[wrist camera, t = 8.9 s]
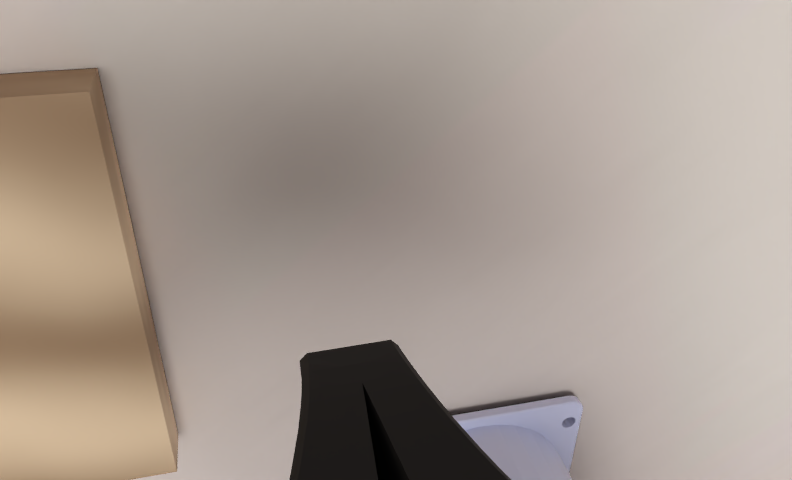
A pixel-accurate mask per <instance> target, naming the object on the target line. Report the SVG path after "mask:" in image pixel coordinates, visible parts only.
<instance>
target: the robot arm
mask: <svg viewBox="0 0 792 480" xmlns="http://www.w3.org/2000/svg"><path fill="white" fill-rule="evenodd" d="M300 367H301V377H302V398H301V410H300V420H299V429H298V435H297V441H296V447H295V453H294V458H293V464H292V470H291V475H290V480H572V478H571V476H570V474H569V472H570V467H571V462H572V458H573V453H574V448H575V444H576V439H577V434H578V430H579V425H580V420H581V416H582V411H583V406H582V404H581V402H580V401H579V399H578V398H577V397H575V396H564V397H558V398H552V399H546V400H540V401H534V402H528V403H523V404H517V405H511V406H505V407H499V408H493V409H487V410H481V411H476V412H470V413H464V414H458V415H451V414H450V413H449V412H448V411H447V409H446V408H445V407H444V406H443V405H442V403H441V402H440V401H439V400H438V398H437V397H436V396H435V395H434V394H433V392H432V391H431V390H430V389H429V387H428V386H427V385H426V383H425V382H424V381H423V380H422V378H421V377H420V376H419V374H418V373H417V372H416V370H415V369H414V368H413V366H412V365H411V364H410V362H409V361H408V359H407V358H406V356H405V355H404V354H403V352H402V351H401V349H400V348H399V346H398V345H397V344H396V343H394V342H393V341H391V340H387V341H381V342H374V343H368V344H362V345H356V346H350V347H343V348H337V349H331V350H325V351H318V352H312V353H307V354H306V355H305V356H304V357H303V358H302V359H301V360H300Z"/></svg>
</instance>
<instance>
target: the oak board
mask: <svg viewBox="0 0 792 480" xmlns="http://www.w3.org/2000/svg"><path fill="white" fill-rule="evenodd" d="M177 454H178V432H177V427H176V423H175V418H174V413H173V409H172V404H171V400H170V395H169V391H168V386H167V382H166V377H165V373H164V368H163V364H162V359H161V354H160V350H159V345H158V341H157V336H156V332H155V327H154V323H153V318H152V314H151V309H150V305H149V300H148V296H147V291H146V286H145V282H144V277H143V273H142V268H141V264H140V259H139V255H138V250H137V246H136V241H135V237H134V232H133V228H132V223H131V218H130V214H129V209H128V205H127V200H126V196H125V191H124V187H123V182H122V178H121V173H120V169H119V164H118V160H117V155H116V150H115V146H114V141H113V137H112V132H111V128H110V123H109V119H108V114H107V110H106V105H105V101H104V96H103V92H102V87H101V82H100V78H99V73H98V69H97V68H94V69H78V70H61V71H45V72H29V73H13V74H0V480H130V479H136V478H142V477H148V476H154V475H159V474H165V473H171V472H177Z"/></svg>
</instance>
